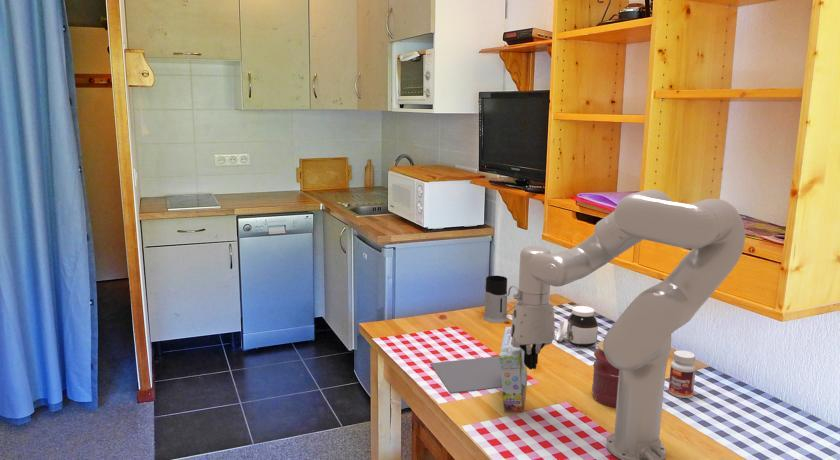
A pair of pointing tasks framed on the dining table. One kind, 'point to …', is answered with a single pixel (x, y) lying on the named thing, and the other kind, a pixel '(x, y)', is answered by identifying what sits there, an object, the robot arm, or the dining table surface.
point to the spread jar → (580, 327)
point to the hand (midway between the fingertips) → (530, 367)
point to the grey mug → (496, 299)
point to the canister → (604, 379)
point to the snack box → (512, 374)
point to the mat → (470, 374)
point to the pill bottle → (682, 374)
